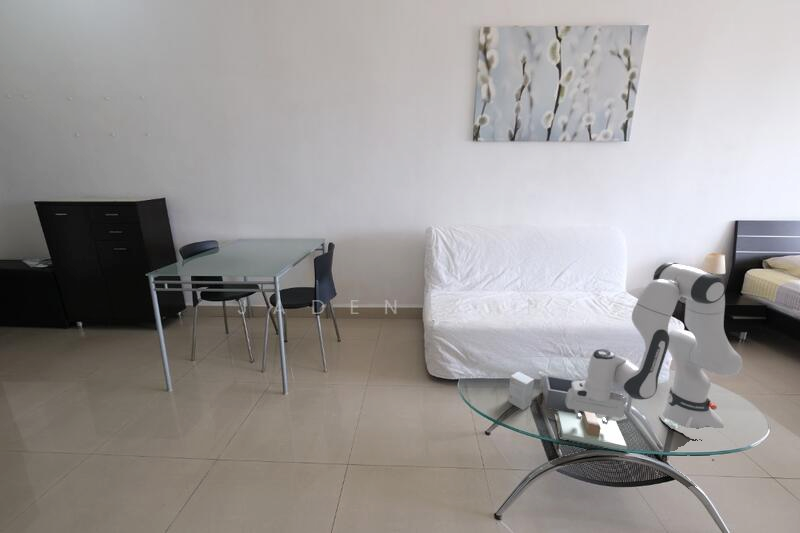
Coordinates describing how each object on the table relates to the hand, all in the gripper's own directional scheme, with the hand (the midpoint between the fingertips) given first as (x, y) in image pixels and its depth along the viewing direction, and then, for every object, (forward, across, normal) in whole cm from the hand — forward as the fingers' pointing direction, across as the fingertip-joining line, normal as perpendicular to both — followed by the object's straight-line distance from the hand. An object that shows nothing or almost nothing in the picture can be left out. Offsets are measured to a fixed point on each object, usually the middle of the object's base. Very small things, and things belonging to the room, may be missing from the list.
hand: (591, 420), depth 139 cm
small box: (+6, +26, -11) cm, 29 cm away
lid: (+5, 0, 0) cm, 5 cm away
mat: (+6, 0, 0) cm, 6 cm away
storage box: (+6, +5, -17) cm, 19 cm away
